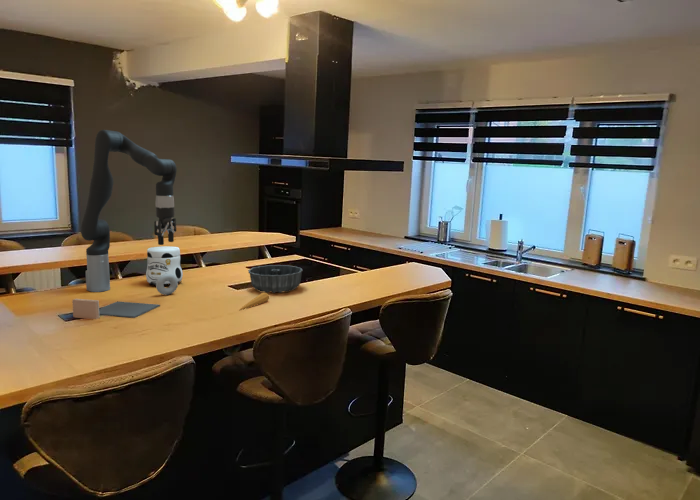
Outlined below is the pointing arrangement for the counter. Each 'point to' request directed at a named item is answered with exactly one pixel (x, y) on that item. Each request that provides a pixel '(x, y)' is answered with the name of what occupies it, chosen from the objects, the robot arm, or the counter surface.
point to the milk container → (163, 263)
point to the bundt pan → (275, 278)
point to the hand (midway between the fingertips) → (166, 243)
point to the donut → (162, 280)
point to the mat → (126, 309)
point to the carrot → (257, 300)
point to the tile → (85, 308)
